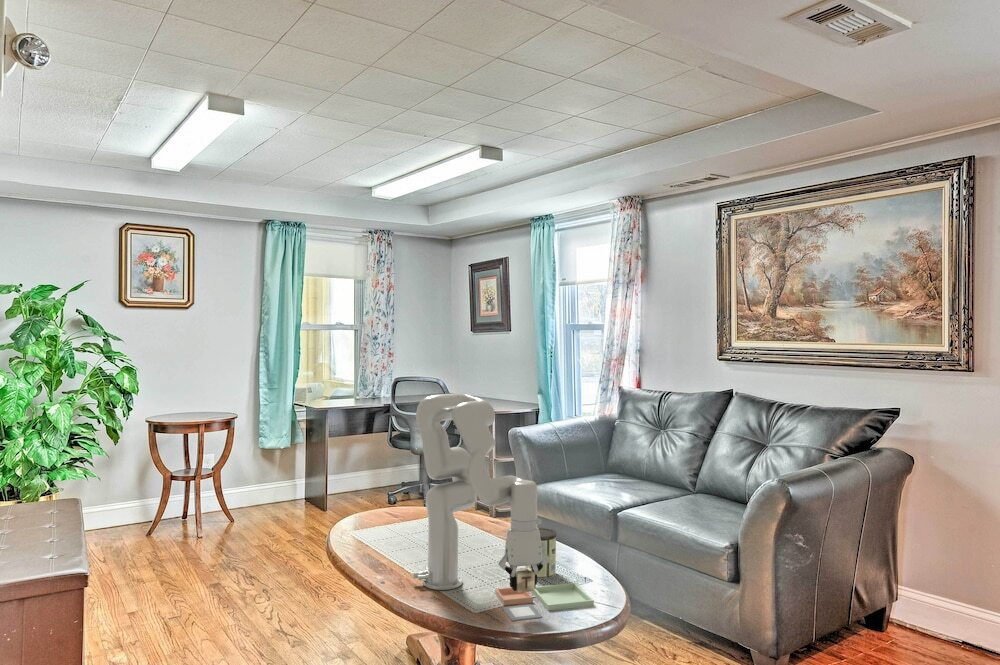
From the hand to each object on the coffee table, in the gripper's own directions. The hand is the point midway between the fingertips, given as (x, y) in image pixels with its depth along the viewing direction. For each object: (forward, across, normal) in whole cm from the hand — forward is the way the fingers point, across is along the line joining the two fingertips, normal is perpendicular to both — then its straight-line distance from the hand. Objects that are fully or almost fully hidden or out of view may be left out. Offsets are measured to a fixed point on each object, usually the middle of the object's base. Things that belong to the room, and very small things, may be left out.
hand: (523, 587), depth 199 cm
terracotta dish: (+8, -1, -11) cm, 14 cm away
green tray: (+8, -15, -7) cm, 18 cm away
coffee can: (+8, -16, -29) cm, 34 cm away
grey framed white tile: (+8, 0, 0) cm, 8 cm away
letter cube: (0, 0, 0) cm, 0 cm away
